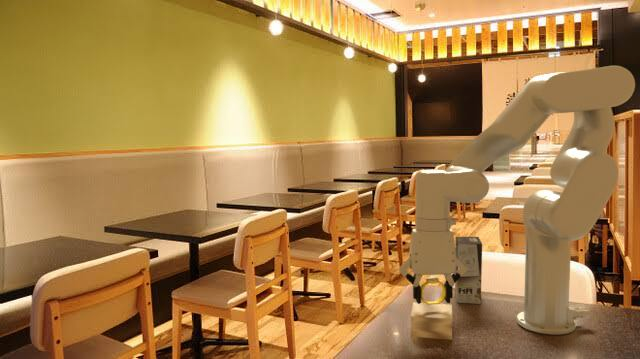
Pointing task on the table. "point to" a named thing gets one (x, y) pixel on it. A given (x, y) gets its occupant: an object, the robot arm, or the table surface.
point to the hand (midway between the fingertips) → (432, 300)
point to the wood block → (431, 321)
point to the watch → (433, 281)
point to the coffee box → (469, 269)
